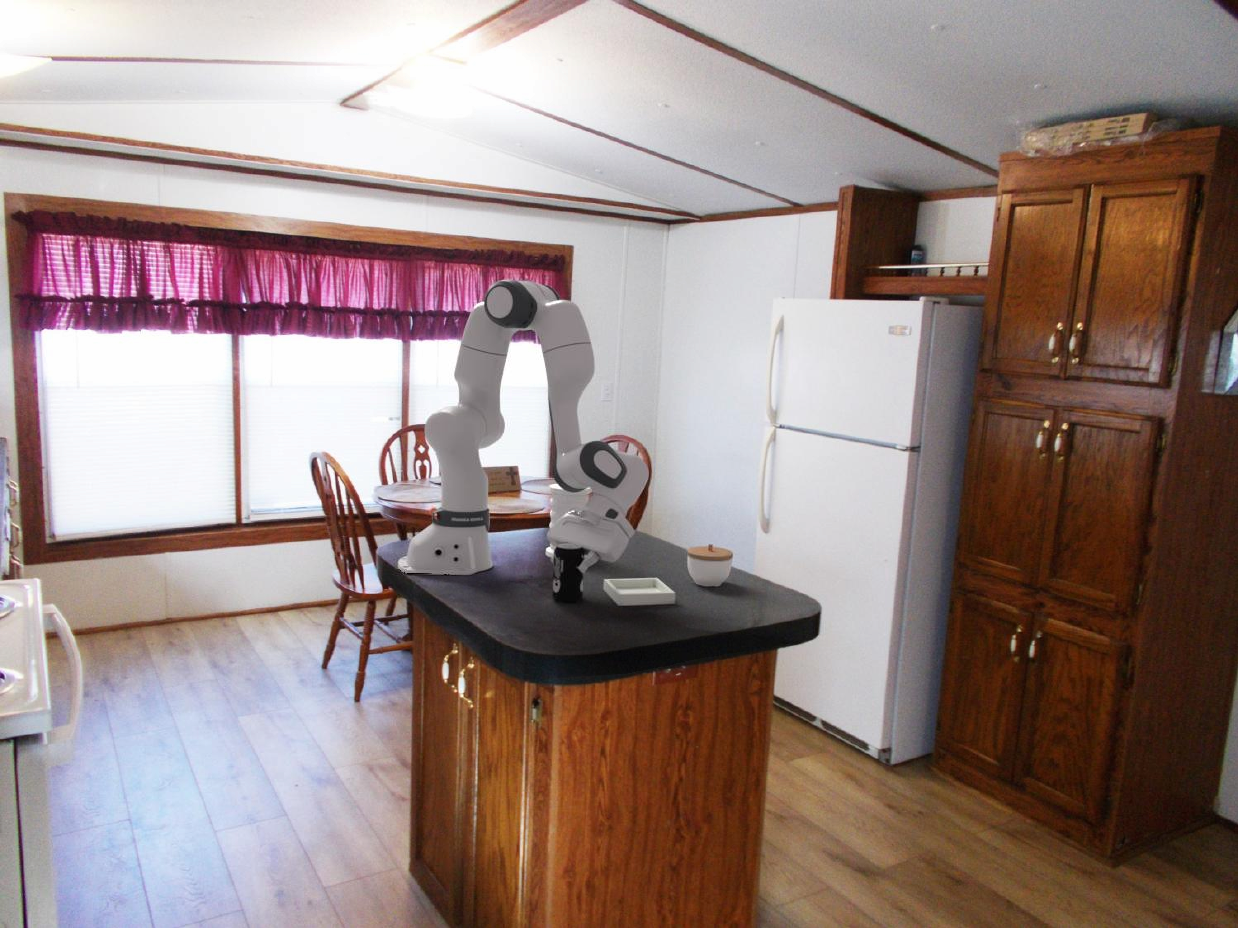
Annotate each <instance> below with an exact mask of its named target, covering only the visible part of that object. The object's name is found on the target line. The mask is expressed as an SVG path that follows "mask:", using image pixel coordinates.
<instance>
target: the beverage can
mask: <svg viewBox="0 0 1238 928" xmlns="http://www.w3.org/2000/svg"><path fill="white" fill-rule="evenodd" d="M582 547H583V546H581V547H580V546H575V545H573V544H569V543H568V542H560V543H557V544H556V548H555V550H554V563H552V565H553V566H552V567H553V570H552V597H553V598H554V600H555V601H557V602H561V603H566V604H569V603H570V604H571V603H578V602H579V601H580V600H581V599H583V597H584V580H585V579H584V576H585V572H584V573H581V572H579V571H577V569H576V565H578V563H579V561H581V562H582V561H583V560H585V559H584V555H585V552H584V550H583V548H582Z"/></svg>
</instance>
